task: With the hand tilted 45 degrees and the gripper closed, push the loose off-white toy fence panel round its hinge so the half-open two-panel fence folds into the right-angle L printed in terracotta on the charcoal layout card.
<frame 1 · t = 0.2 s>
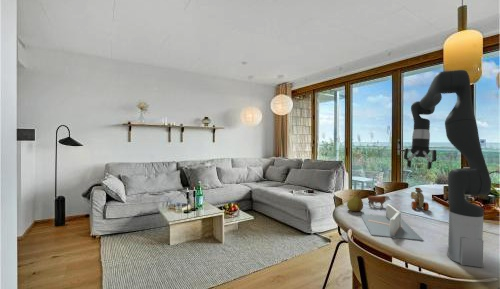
hand: (418, 168, 129), 28 cm above the table, tool pointing down, fingers open, 8 cm apart
fruit: (354, 211, 148), on the table
bull figurine: (378, 207, 157), on the table
layout card: (387, 225, 122), on the table
fence fixed: (398, 227, 120), resting on layout card
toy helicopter: (417, 207, 157), on the table
fence gate: (392, 214, 128), point 4 cm above the table, hinge at 0.0°
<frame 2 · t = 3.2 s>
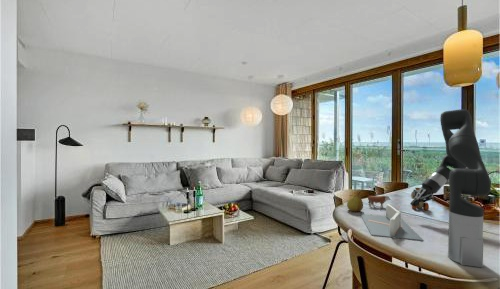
hand: (412, 205, 131), 8 cm above the table, tool tilted 45°, fingers closed
nothing on the table moved.
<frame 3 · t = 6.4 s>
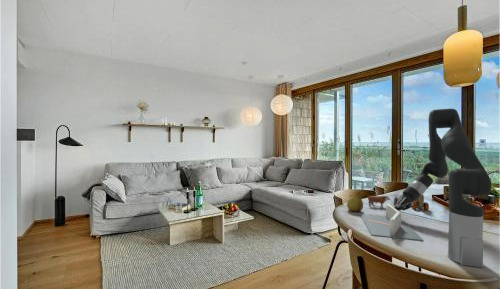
hand: (392, 213, 131), 4 cm above the table, tool tilted 45°, fingers closed
fence gate: (392, 214, 128), point 4 cm above the table, hinge at 0.0°, touching gripper
everything else where it was.
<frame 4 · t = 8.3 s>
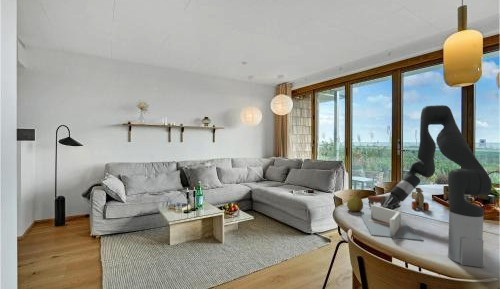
hand: (380, 213, 130), 4 cm above the table, tool tilted 45°, fingers closed
fence gate: (383, 214, 127), point 4 cm above the table, hinge at 37.1°, touching gripper
everything else where it was.
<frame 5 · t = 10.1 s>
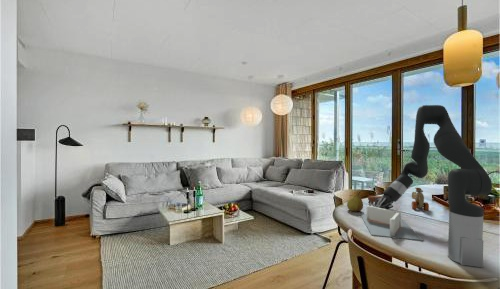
hand: (373, 213, 130), 3 cm above the table, tool tilted 45°, fingers closed
fence gate: (380, 215, 126), point 4 cm above the table, hinge at 53.5°, touching gripper
everything else where it was.
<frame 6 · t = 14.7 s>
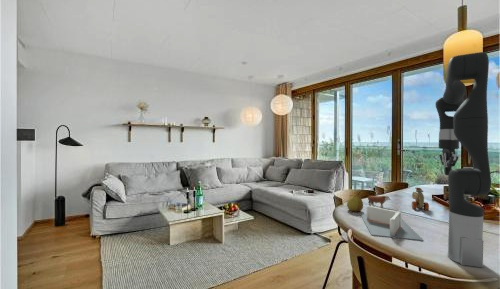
hand: (447, 174, 115), 27 cm above the table, tool pointing down, fingers closed
fence gate: (380, 215, 126), point 4 cm above the table, hinge at 53.7°
everything else where it was.
at the end: fence gate at +54° (first picture: +0°) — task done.
